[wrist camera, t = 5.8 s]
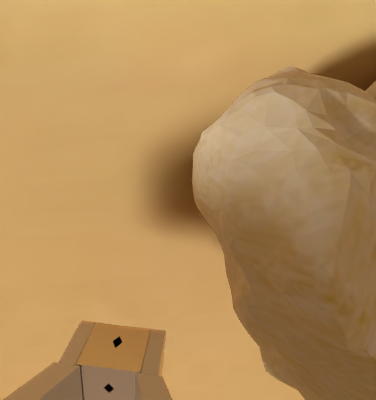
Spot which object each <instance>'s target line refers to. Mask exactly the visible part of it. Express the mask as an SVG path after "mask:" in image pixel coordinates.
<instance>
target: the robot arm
mask: <svg viewBox="0 0 376 400" xmlns="http://www.w3.org/2000/svg"><path fill="white" fill-rule="evenodd" d="M165 335H166V331H163V330H155V329H148V328H138V327H129V326H118V325H111V324H104V323H98V322H89V321H82V322H81V323H80V324H79V326H78V328H77V330H76V331H75V333H74V335H73V337H72V339H71V341H70V342H69V344H68V346H67V348H66V350H65V352H64V354H63V355H62V357H61V359H60V361H59V363H53V364H51V365H50V366H49V367H47V368H46V369H44V370H43V371H42V372H40V373H39V374H38V375H36V376H35V377H33V378H32V379H31V380H29V381H28V382H27V383H25V384H24V385H23V386H21V387H20V388H18V389H17V390H16V391H14V392H13V393H12V394H10V395H9V396H7V397H6V398H5V399H3V400H172V398H171V395H170V393H169V391H168V388H167V386H166V384H165V381H164V379H163V377H162V376H161V374H162V367H163V358H164V347H165Z"/></svg>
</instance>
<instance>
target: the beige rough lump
mask: <svg viewBox="0 0 376 400" xmlns="http://www.w3.org/2000/svg"><path fill="white" fill-rule="evenodd" d="M192 187H193V194H194V201H195V204H196V206H197V208H198V209H199V211H200V212H201V214H202V215H203V217H204V218H205V220H206V221H207V222H208V224H209V225H210V226H211V228H212V229H213V230H214V231H215V233H216V234H217V236H218V239H219V241H220V243H221V246H222V250H223V253H224V258H225V266H226V273H227V278H228V281H229V285H230V289H231V294H232V300H233V308H234V310H235V312H236V314H237V316H238V318H239V320H240V322H241V323H242V325H243V326H244V328H245V329H246V330H247V332H248V333H249V335H250V336H251V337H252V338H253V340H254V341H255V342H256V343H257V345H258V346H259V347H260V352H261V357H262V360H263V364H264V367H265V370H266V372H268V373H269V374H270V375H272V376H273V377H274V378H276V379H277V380H279V381H281V382H283V383H285V384H287V385H289V386H291V387H293V388H295V389H297V390H298V391H299V392H300V393H301V395H302V396H303V397H304V398H305V400H376V81H375V82H374V83H373V84H372V85H371V86H370V87H369V88H368V89H366V90H365V91H364V90H362V89H360V88H358V87H356V86H354V85H352V84H350V83H348V82H345V81H341V80H337V79H333V78H329V77H325V76H320V75H316V74H311V73H307V72H305V71H303V70H300V69H298V68H295V67H293V66H292V67H289V68H286V69H284V70H282V71H280V72H278V73H276V74H274V75H272V76H270V77H268V78H265V79H262V80H260V81H257V82H255V83H254V84H253V85H251V86H250V87H249V88H248V89H247V90H246V91H245V92H243V93H242V94H241V95H240V96H239V97H238V98H237V99H236V100H235V101H234V102H233V104H232V105H231V106H230V107H229V108H228V109H227V110H226V111H225V112H224V113H223V114H222V115H221V116H220V117H219V118H218V120H216V121H215V122H214V123H213V124H212V125H210V126H209V127H208V128H207V129H206V130H204V131H203V132H202V134H201V138H200V141H199V142H198V144H197V146H196V148H195V150H194V153H193V174H192Z"/></svg>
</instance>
